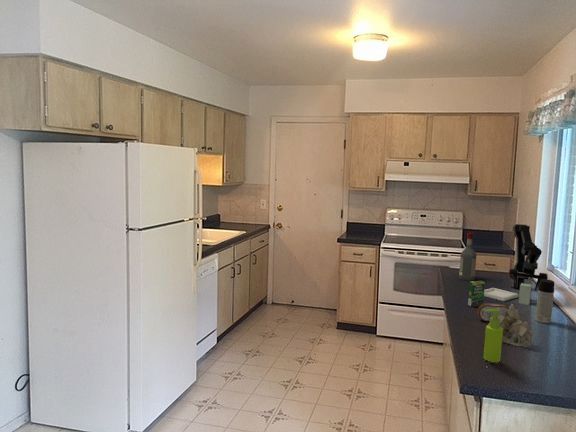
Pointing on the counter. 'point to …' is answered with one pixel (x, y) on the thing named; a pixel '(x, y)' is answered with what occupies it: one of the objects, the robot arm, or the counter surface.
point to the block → (525, 293)
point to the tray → (499, 294)
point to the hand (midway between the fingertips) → (525, 288)
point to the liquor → (468, 261)
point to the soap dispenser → (493, 338)
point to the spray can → (544, 301)
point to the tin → (487, 316)
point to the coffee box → (476, 293)
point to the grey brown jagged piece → (514, 328)
